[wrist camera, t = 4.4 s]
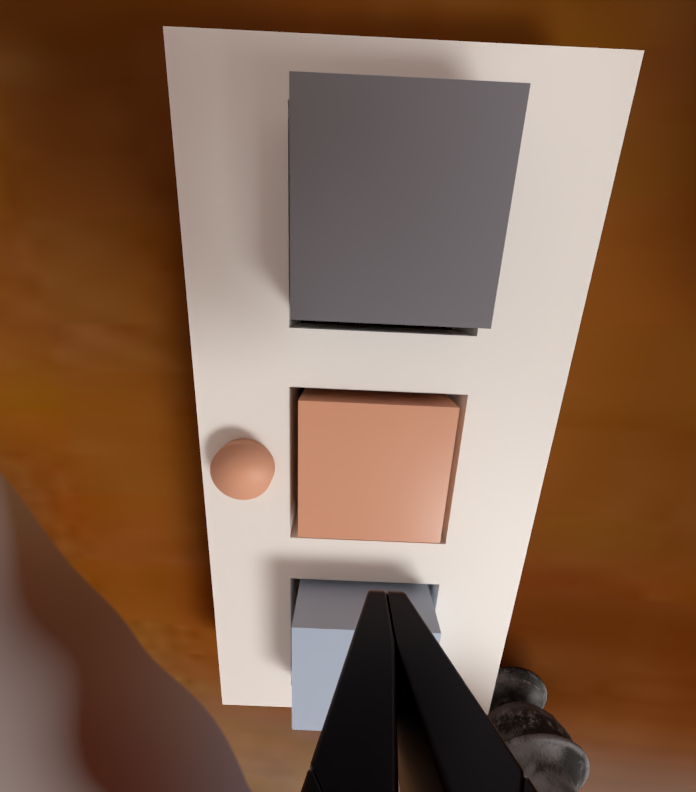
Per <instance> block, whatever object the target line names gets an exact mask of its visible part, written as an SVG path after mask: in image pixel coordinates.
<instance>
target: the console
mask: <svg viewBox="0 0 696 792" xmlns="http://www.w3.org/2000/svg"><path fill="white" fill-rule="evenodd" d="M163 34H164V45H165V57H166V68H167V79H168V91H169V102H170V113H171V125H172V136H173V147H174V159H175V170H176V181H177V193H178V204H179V215H180V227H181V238H182V249H183V261H184V272H185V283H186V295H187V306H188V318H189V329H190V340H191V352H192V363H193V374H194V386H195V397H196V408H197V420H198V431H199V442H200V454H201V465H202V476H203V488H204V499H205V510H206V522H207V533H208V544H209V556H210V567H211V578H212V590H213V601H214V612H215V624H216V635H217V646H218V658H219V669H220V680H221V692H222V703H223V704H226V705H252V706H277V707H292V622H293V617H294V611H295V606H296V600H297V595H298V589H299V584H300V579H320V580H344V581H368V582H392V583H416V584H428V587H429V591H430V594H431V598H432V601H433V605H434V609H435V612H436V616H437V620H438V623H439V627H440V630H441V639H440V646H441V647H442V649H443V650H444V652H445V653H446V655H447V656H448V658H449V659H450V661H451V662H452V664H453V665H454V667H455V668H456V670H457V671H458V673H459V674H460V676H461V677H462V679H463V680H464V682H465V683H466V685H467V686H468V688H469V689H470V691H471V692H472V694H473V695H474V697H475V698H476V700H477V701H478V703H479V704H480V706H481V707H482V709H483V710H484V712H485V713H486V715H488V713H489V709H490V705H491V700H492V696H493V692H494V688H495V683H496V679H497V675H498V671H499V666H500V662H501V658H502V654H503V649H504V645H505V641H506V637H507V632H508V628H509V624H510V620H511V615H512V611H513V607H514V603H515V598H516V594H517V590H518V586H519V581H520V577H521V573H522V569H523V564H524V560H525V556H526V552H527V547H528V543H529V539H530V535H531V530H532V526H533V522H534V518H535V513H536V509H537V505H538V501H539V496H540V492H541V488H542V484H543V479H544V475H545V471H546V467H547V462H548V458H549V454H550V450H551V445H552V441H553V437H554V433H555V428H556V424H557V420H558V416H559V411H560V407H561V403H562V399H563V394H564V390H565V386H566V382H567V377H568V373H569V369H570V365H571V360H572V356H573V352H574V348H575V343H576V339H577V335H578V331H579V326H580V322H581V318H582V314H583V309H584V305H585V301H586V297H587V292H588V288H589V284H590V280H591V275H592V271H593V267H594V263H595V258H596V254H597V250H598V246H599V241H600V237H601V233H602V229H603V224H604V220H605V216H606V212H607V207H608V203H609V199H610V195H611V190H612V186H613V182H614V178H615V173H616V169H617V165H618V161H619V156H620V152H621V148H622V144H623V139H624V135H625V131H626V127H627V122H628V118H629V114H630V110H631V105H632V101H633V97H634V93H635V88H636V84H637V80H638V76H639V71H640V67H641V63H642V59H643V54H644V50H626V49H606V48H586V47H567V46H547V45H527V44H507V43H488V42H468V41H448V40H428V39H408V38H389V37H369V36H349V35H329V34H310V33H290V32H270V31H250V30H231V29H211V28H191V27H171V26H163ZM289 71H298V72H318V73H338V74H358V75H378V76H398V77H418V78H438V79H458V80H478V81H498V82H518V83H531V84H530V91H529V97H528V103H527V109H526V115H525V121H524V128H523V134H522V140H521V146H520V152H519V158H518V165H517V171H516V177H515V183H514V189H513V195H512V202H511V208H510V214H509V220H508V226H507V232H506V239H505V245H504V251H503V257H502V263H501V269H500V276H499V282H498V288H497V294H496V300H495V306H494V313H493V319H492V325H491V329H483V328H461V327H452V330H445V329H424V328H402V327H380V326H358V325H336V324H314V323H301V320H290V151H289ZM301 387H304V388H326V389H349V390H371V391H394V392H416V393H438V394H446V395H447V396H448V397H449V398H450V399H451V400H452V401H453V402H454V403H455V404H456V405H457V406H458V407H460V410H459V417H458V423H457V430H456V437H455V444H454V451H453V458H452V465H451V471H450V478H449V485H448V492H447V499H446V506H445V513H444V519H443V526H442V533H441V540H440V543H429V542H405V541H382V540H358V539H334V538H310V537H298V400H299V398H300V396H301Z"/></svg>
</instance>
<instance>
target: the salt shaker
mask: <svg viewBox="0 0 696 792" xmlns="http://www.w3.org/2000/svg"><path fill="white" fill-rule="evenodd" d="M546 700H547V691H546V687H545V685H544V683H543V682H542V680H541V679H540V678H539V677H538V676H537V675H535V674H534V673H532V672H530V671H527V670H525V669H521V668H513V667H507V668H499V671H498V675H497V679H496V683H495V688H494V692H493V696H492V700H491V705H490V709H489V713H488V715H487V716H488V718H489V719H490V721H491V722H492V724H493V725H494V727H495V728H496V730H497V731H498V733H499V734H500V736H501V737H502V739H503V740H504V742H505V744H506V745H507V747H508V748H509V750H510V751H511V753H512V754H513V756H514V757H515V759H516V760H517V762H518V763H519V765H520V766H521V768H522V769H523V771H524V777H528V778H529V779H530V781H531V782H532V784H533V785H534V787H535V788H536V790H537V791H538V792H577V791H578V790H579V789H580V788H581V787H582V786H583V785H584V783H585V781H586V780H587V778H588V775H589V769H590V764H589V761H588V757H587V755H586V753H585V752H584V751H583V750H582V748H581V747H580V746H579V745H577V744H576V743H574V742H573V741H572V739H571V737H570V735H569V734H568V733H567V731H566V730H565V729H564V728H563V727H562V725H561V724H560V723H559V722H558V721H557V720H556V719H555V718H554V717H553V715H551V714H550V713H548V712H547V711H545V710H543V707H544V705H545V703H546Z"/></svg>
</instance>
